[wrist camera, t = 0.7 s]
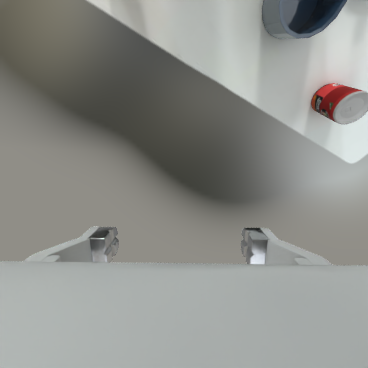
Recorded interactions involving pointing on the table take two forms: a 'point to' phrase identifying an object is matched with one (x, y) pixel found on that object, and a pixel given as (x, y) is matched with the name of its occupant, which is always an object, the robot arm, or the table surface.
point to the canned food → (340, 103)
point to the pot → (299, 17)
